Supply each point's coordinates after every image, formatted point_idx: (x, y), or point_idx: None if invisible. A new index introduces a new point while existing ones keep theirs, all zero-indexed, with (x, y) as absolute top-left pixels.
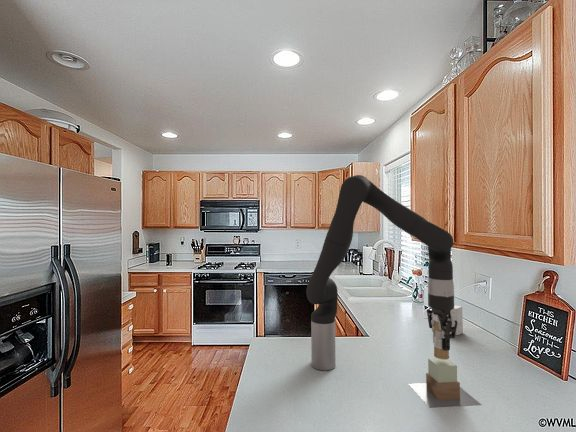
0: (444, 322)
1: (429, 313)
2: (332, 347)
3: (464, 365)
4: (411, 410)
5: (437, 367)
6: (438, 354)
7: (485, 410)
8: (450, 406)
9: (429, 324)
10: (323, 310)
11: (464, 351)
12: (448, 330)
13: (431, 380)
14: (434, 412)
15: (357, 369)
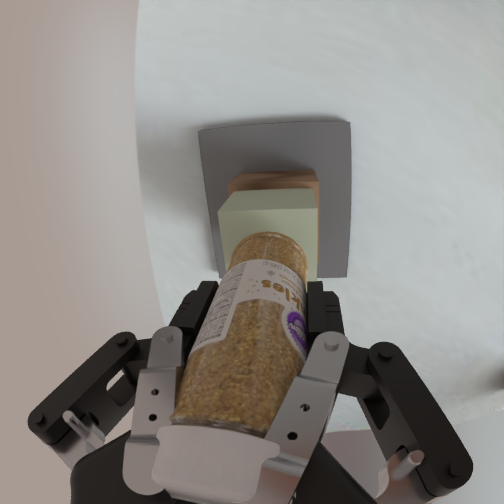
0: (119, 436)
1: (423, 463)
2: None
3: (424, 344)
4: (205, 80)
5: (226, 208)
6: (241, 249)
7: (212, 275)
8: (206, 194)
9: (395, 364)
10: None
11: (467, 368)
12: (71, 374)
13: (275, 180)
14: (196, 141)
15: (459, 26)
